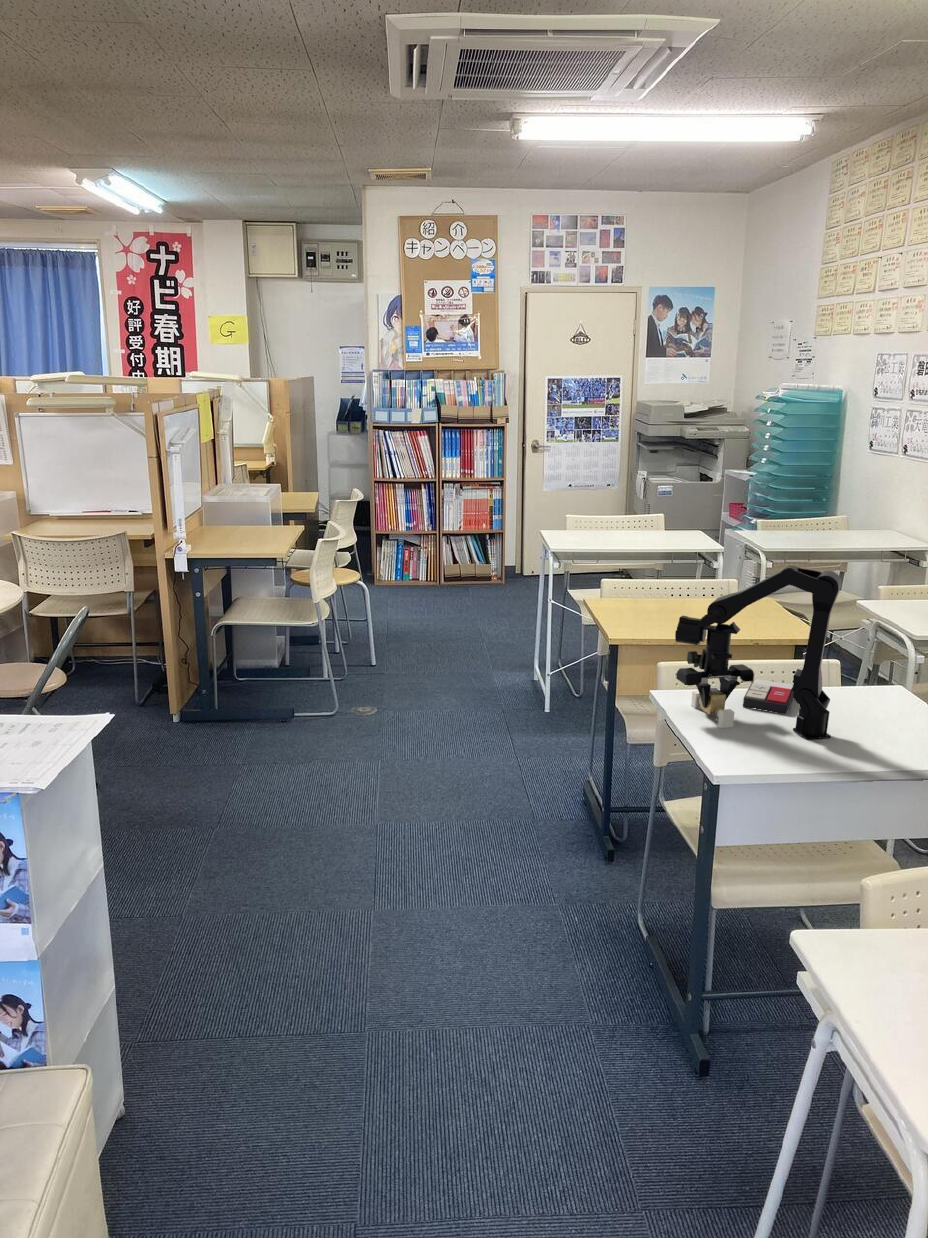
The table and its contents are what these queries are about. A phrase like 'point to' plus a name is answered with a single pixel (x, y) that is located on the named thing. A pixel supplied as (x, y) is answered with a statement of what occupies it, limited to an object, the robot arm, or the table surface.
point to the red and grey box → (769, 696)
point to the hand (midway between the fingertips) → (712, 706)
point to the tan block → (714, 701)
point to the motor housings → (724, 715)
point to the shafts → (715, 711)
